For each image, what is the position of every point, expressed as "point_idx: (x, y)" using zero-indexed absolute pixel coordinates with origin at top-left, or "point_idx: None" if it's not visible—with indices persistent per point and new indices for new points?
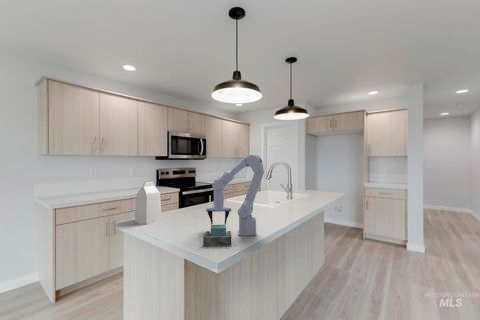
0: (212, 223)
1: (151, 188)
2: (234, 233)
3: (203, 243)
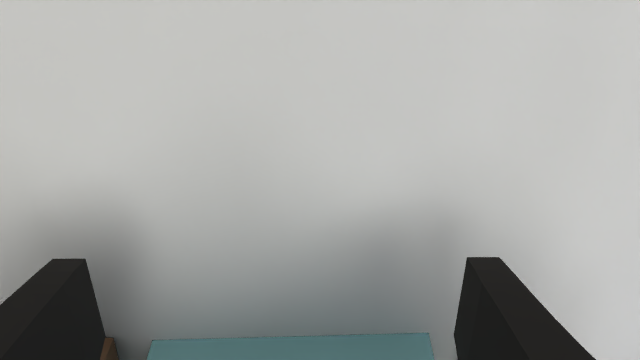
0: (94, 343)
1: None
2: (594, 351)
3: None
